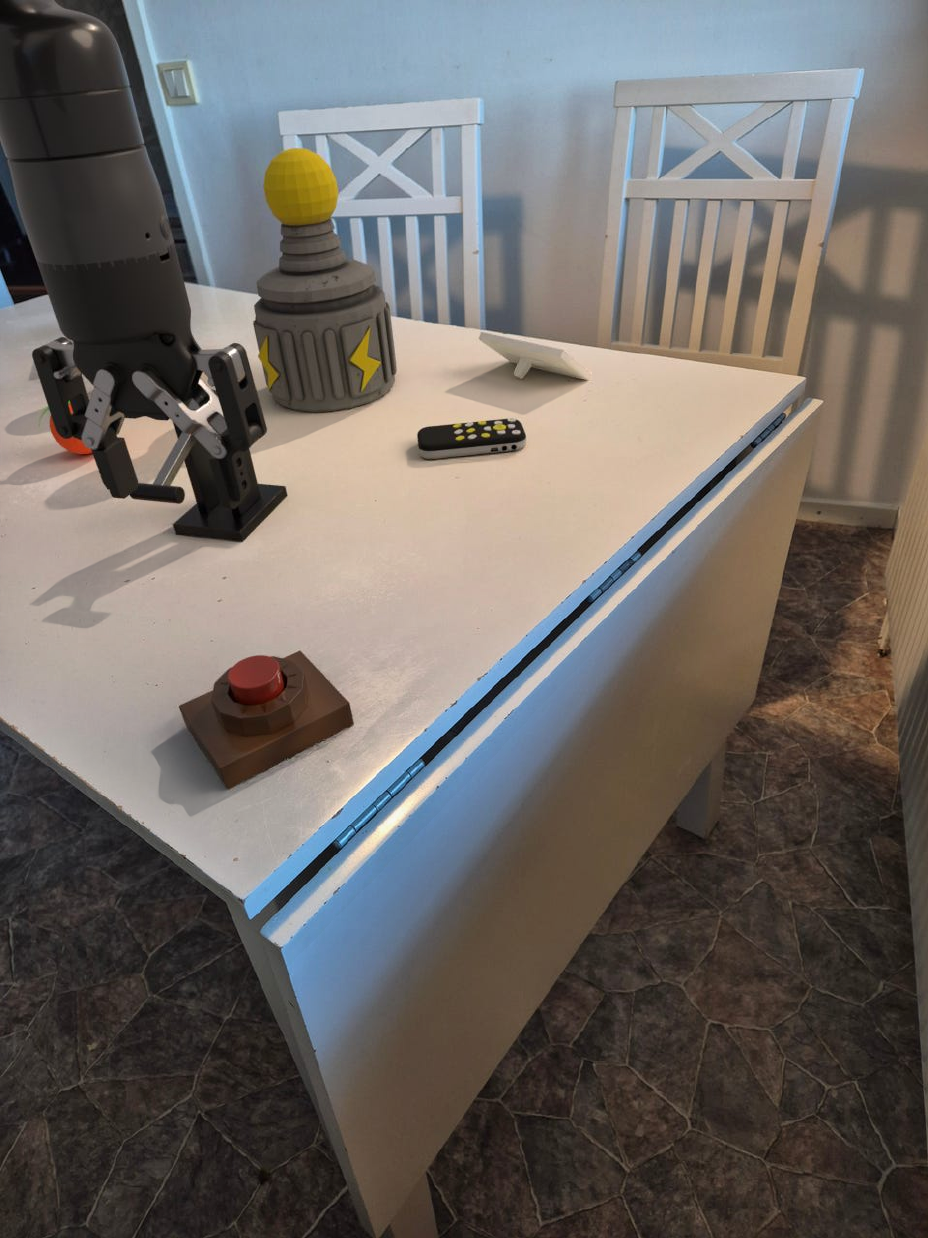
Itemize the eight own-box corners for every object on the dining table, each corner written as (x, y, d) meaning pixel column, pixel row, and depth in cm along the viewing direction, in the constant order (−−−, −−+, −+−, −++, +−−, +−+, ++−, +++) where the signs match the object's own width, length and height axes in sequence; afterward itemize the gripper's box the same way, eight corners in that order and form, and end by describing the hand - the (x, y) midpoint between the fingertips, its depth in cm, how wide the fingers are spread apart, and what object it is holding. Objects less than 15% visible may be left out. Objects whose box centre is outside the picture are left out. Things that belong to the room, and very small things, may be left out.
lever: (182, 510, 75) (170, 493, 73) (136, 505, 76) (123, 488, 74) (237, 408, 81) (227, 389, 79) (194, 405, 82) (183, 387, 80)
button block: (227, 790, 55) (212, 749, 53) (186, 727, 61) (171, 687, 58) (354, 724, 60) (346, 683, 57) (305, 670, 65) (295, 631, 63)
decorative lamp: (244, 392, 117) (187, 155, 99) (351, 357, 126) (317, 134, 108) (314, 427, 105) (264, 164, 87) (427, 385, 114) (403, 140, 96)
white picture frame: (470, 358, 113) (552, 378, 105) (482, 325, 113) (565, 343, 105) (502, 379, 120) (582, 400, 112) (514, 349, 120) (595, 367, 111)
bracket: (242, 541, 82) (208, 412, 74) (175, 534, 85) (134, 408, 76) (287, 495, 90) (260, 373, 82) (224, 489, 92) (192, 370, 84)
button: (245, 714, 56) (240, 695, 55) (225, 687, 58) (219, 669, 57) (292, 691, 58) (287, 672, 57) (271, 666, 60) (266, 648, 59)
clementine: (53, 470, 99) (31, 415, 95) (51, 450, 105) (29, 397, 100) (120, 454, 102) (102, 400, 98) (115, 435, 107) (97, 383, 103)
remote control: (417, 440, 99) (415, 424, 98) (520, 429, 100) (519, 414, 99) (420, 462, 94) (418, 446, 93) (528, 450, 95) (527, 435, 94)
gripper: (-46, 258, 45) (57, 516, 54) (177, 259, 41) (246, 535, 51) (44, 230, 51) (124, 467, 60) (248, 228, 47) (298, 481, 57)
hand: (180, 498), depth 55 cm, fingers open, 8 cm apart
